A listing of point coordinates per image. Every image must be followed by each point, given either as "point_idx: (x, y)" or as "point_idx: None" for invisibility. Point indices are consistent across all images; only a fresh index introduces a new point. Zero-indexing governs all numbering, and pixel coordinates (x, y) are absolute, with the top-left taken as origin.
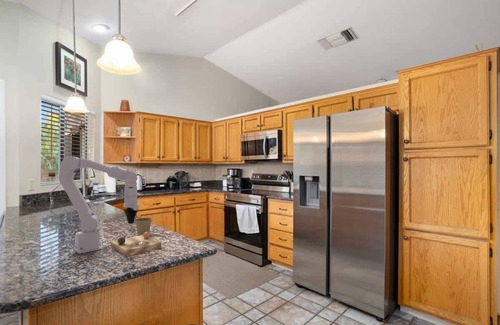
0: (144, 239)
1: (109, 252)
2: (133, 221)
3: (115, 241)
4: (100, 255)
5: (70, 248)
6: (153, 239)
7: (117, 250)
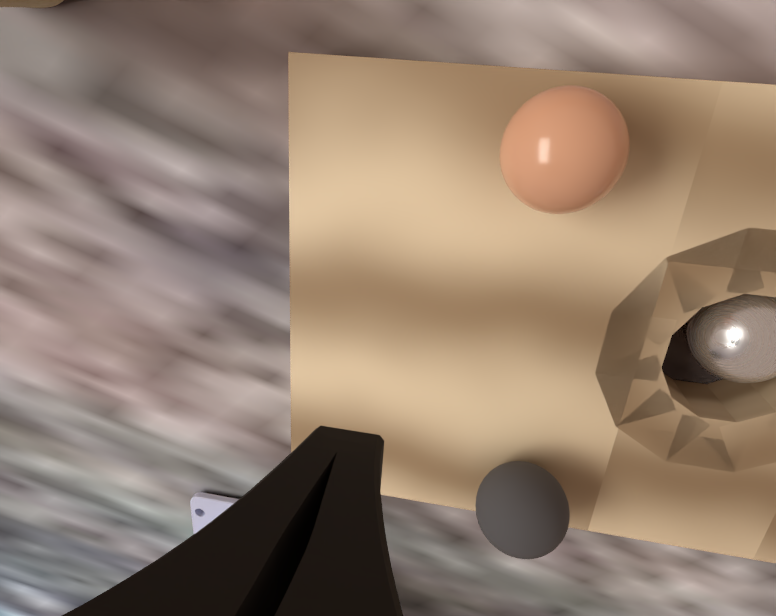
0: None
1: None
2: (379, 465)
3: None
4: (514, 593)
5: None
6: (735, 96)
7: None
